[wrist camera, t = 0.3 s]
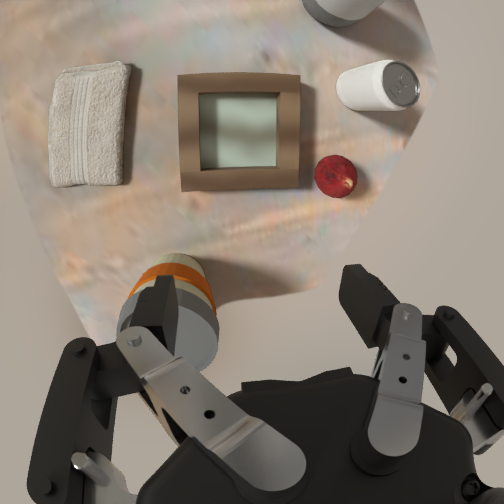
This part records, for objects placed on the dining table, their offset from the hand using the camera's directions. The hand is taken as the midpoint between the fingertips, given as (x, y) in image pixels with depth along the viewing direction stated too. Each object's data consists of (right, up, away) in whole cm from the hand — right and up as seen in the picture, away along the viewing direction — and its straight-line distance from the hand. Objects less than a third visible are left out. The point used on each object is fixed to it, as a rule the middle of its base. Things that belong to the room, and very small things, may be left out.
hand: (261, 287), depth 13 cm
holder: (-2, +18, +23) cm, 29 cm away
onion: (+10, +13, +27) cm, 32 cm away
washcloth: (-23, +20, +19) cm, 36 cm away
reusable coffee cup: (-12, -3, +31) cm, 33 cm away
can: (+14, +25, +22) cm, 36 cm away
